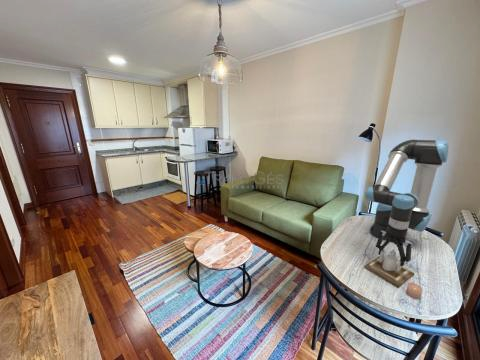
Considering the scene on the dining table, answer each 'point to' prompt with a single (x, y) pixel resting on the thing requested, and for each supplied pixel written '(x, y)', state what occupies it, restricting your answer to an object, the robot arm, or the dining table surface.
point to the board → (389, 273)
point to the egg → (414, 290)
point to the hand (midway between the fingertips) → (389, 265)
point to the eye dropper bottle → (390, 261)
